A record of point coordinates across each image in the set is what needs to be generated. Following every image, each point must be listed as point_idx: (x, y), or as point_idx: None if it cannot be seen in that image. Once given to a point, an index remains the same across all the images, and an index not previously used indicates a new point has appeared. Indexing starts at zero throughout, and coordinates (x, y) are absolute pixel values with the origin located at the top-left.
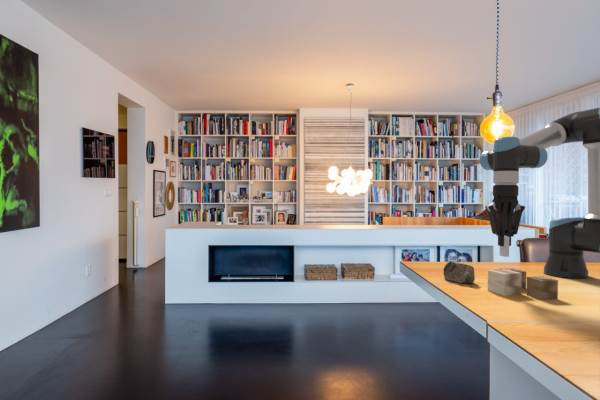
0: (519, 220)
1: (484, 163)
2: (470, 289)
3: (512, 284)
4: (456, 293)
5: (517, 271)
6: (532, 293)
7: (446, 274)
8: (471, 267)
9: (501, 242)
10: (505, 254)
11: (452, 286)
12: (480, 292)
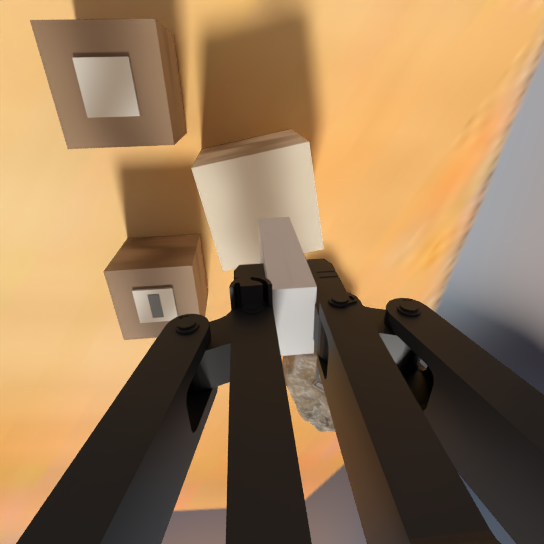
0: (75, 480)
1: None
2: (357, 238)
3: (251, 144)
4: (450, 182)
5: (149, 274)
6: (178, 91)
7: None
8: (315, 351)
9: (328, 272)
10: (286, 222)
11: (390, 282)
12: (351, 191)
